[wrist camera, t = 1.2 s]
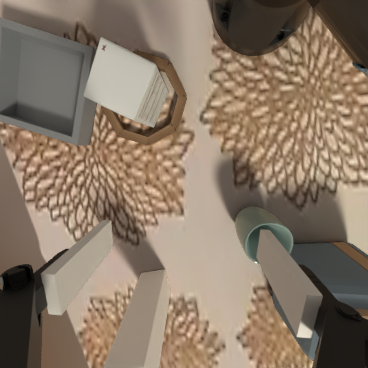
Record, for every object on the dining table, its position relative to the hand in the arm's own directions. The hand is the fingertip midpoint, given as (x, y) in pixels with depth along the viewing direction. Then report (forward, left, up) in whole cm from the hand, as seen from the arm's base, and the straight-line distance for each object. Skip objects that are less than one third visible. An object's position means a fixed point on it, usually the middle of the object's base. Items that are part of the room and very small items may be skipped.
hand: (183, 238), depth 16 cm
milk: (+25, 0, -22) cm, 34 cm away
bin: (-10, -30, -22) cm, 38 cm away
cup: (+3, +15, -22) cm, 27 cm away
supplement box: (-13, -13, -22) cm, 29 cm away
